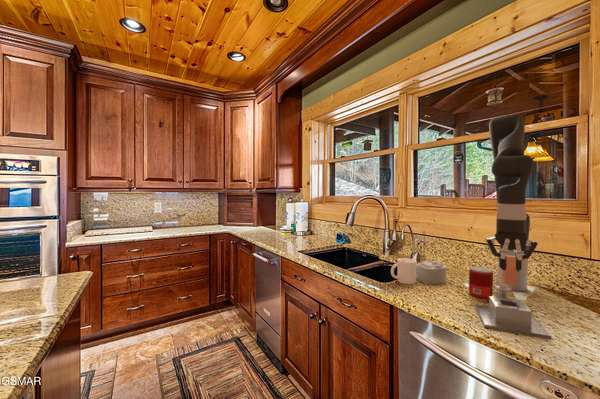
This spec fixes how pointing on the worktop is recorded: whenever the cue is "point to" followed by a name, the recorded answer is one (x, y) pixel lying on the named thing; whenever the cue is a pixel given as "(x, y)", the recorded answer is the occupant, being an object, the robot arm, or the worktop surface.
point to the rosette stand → (509, 313)
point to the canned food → (480, 282)
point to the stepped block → (510, 271)
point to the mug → (405, 271)
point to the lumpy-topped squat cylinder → (431, 272)
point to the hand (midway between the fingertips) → (509, 269)
